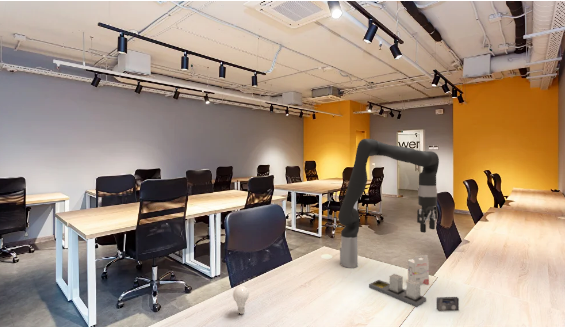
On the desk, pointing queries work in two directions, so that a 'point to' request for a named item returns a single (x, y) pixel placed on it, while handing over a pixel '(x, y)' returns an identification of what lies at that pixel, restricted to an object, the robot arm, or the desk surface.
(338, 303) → the desk surface
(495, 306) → the desk surface
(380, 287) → the rail
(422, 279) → the ink cartridge box
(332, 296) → the desk surface
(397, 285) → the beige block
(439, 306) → the mini dv tape
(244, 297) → the lightbulb
